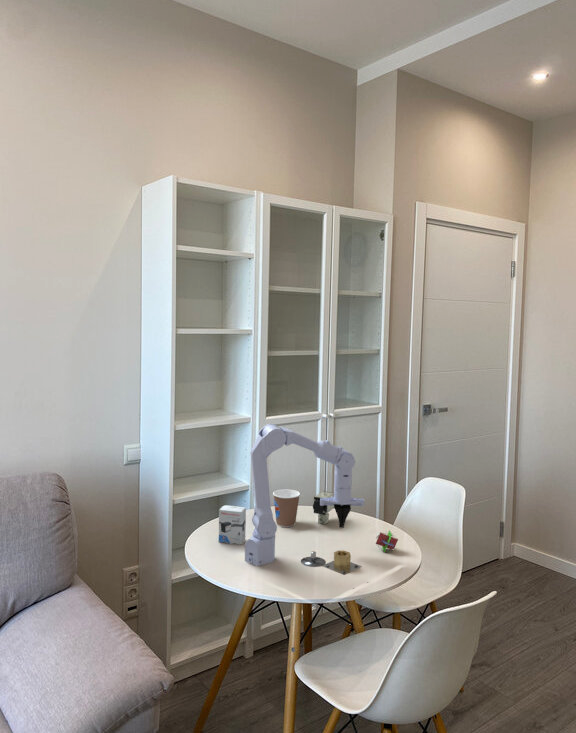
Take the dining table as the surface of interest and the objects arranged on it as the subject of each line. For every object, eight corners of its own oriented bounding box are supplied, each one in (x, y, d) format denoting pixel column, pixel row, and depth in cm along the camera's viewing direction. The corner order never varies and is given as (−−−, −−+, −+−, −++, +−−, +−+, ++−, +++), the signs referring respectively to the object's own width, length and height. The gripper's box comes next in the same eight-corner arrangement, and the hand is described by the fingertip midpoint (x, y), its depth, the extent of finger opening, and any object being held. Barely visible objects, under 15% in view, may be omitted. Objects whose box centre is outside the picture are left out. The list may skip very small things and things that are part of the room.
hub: (344, 578, 183) (344, 565, 183) (321, 568, 189) (322, 556, 189) (362, 569, 190) (362, 557, 189) (339, 560, 196) (340, 548, 195)
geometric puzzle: (399, 540, 209) (386, 522, 208) (404, 548, 202) (391, 529, 201) (382, 552, 209) (369, 534, 208) (387, 560, 202) (373, 542, 201)
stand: (314, 572, 187) (314, 559, 186) (295, 564, 192) (295, 552, 192) (330, 564, 193) (331, 552, 192) (312, 557, 198) (312, 545, 198)
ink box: (217, 542, 209) (218, 509, 208) (222, 537, 214) (223, 504, 213) (241, 545, 207) (242, 511, 206) (245, 539, 212) (246, 507, 211)
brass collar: (343, 570, 186) (343, 558, 186) (330, 565, 189) (331, 553, 189) (353, 566, 189) (353, 553, 189) (340, 561, 193) (341, 549, 193)
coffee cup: (271, 519, 233) (272, 489, 232) (298, 519, 234) (299, 489, 233) (272, 528, 223) (273, 497, 222) (300, 529, 224) (301, 497, 223)
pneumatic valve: (311, 526, 227) (312, 495, 226) (323, 517, 237) (324, 487, 236) (325, 528, 224) (326, 497, 223) (336, 519, 235) (337, 489, 234)
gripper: (363, 483, 202) (361, 522, 203) (319, 482, 202) (318, 522, 203) (366, 489, 195) (364, 530, 196) (321, 488, 195) (320, 529, 196)
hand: (341, 526), depth 199 cm, fingers closed
